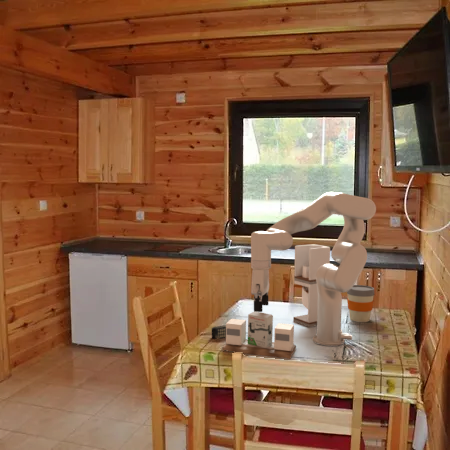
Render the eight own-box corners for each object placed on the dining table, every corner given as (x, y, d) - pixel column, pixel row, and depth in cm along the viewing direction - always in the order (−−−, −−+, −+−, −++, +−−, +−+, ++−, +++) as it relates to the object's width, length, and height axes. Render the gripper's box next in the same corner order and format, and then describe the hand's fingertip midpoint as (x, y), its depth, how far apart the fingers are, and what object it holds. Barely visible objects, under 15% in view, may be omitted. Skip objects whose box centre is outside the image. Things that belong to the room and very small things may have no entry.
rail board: (295, 348, 203) (295, 343, 203) (290, 358, 192) (290, 353, 191) (231, 341, 211) (231, 336, 211) (222, 350, 199) (222, 345, 199)
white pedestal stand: (312, 317, 246) (313, 244, 243) (327, 323, 238) (330, 247, 234) (293, 321, 240) (295, 245, 237) (308, 327, 231) (310, 248, 228)
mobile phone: (212, 328, 213) (246, 324, 218) (210, 326, 215) (244, 322, 221) (213, 340, 213) (246, 335, 218) (210, 338, 216) (244, 333, 221)
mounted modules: (293, 345, 200) (293, 324, 200) (289, 351, 194) (290, 330, 193) (231, 338, 208) (231, 318, 207) (225, 343, 201) (225, 323, 200)
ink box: (246, 343, 201) (247, 313, 200) (253, 340, 206) (253, 310, 204) (266, 348, 197) (267, 317, 195) (272, 344, 201) (273, 314, 200)
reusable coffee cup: (340, 318, 246) (341, 287, 245) (357, 314, 254) (358, 283, 252) (361, 324, 236) (363, 291, 235) (379, 320, 244) (380, 288, 242)
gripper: (257, 259, 207) (257, 302, 209) (245, 267, 191) (245, 313, 193) (275, 260, 205) (275, 303, 207) (265, 268, 189) (265, 315, 190)
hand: (261, 308), depth 200 cm, fingers open, 9 cm apart
